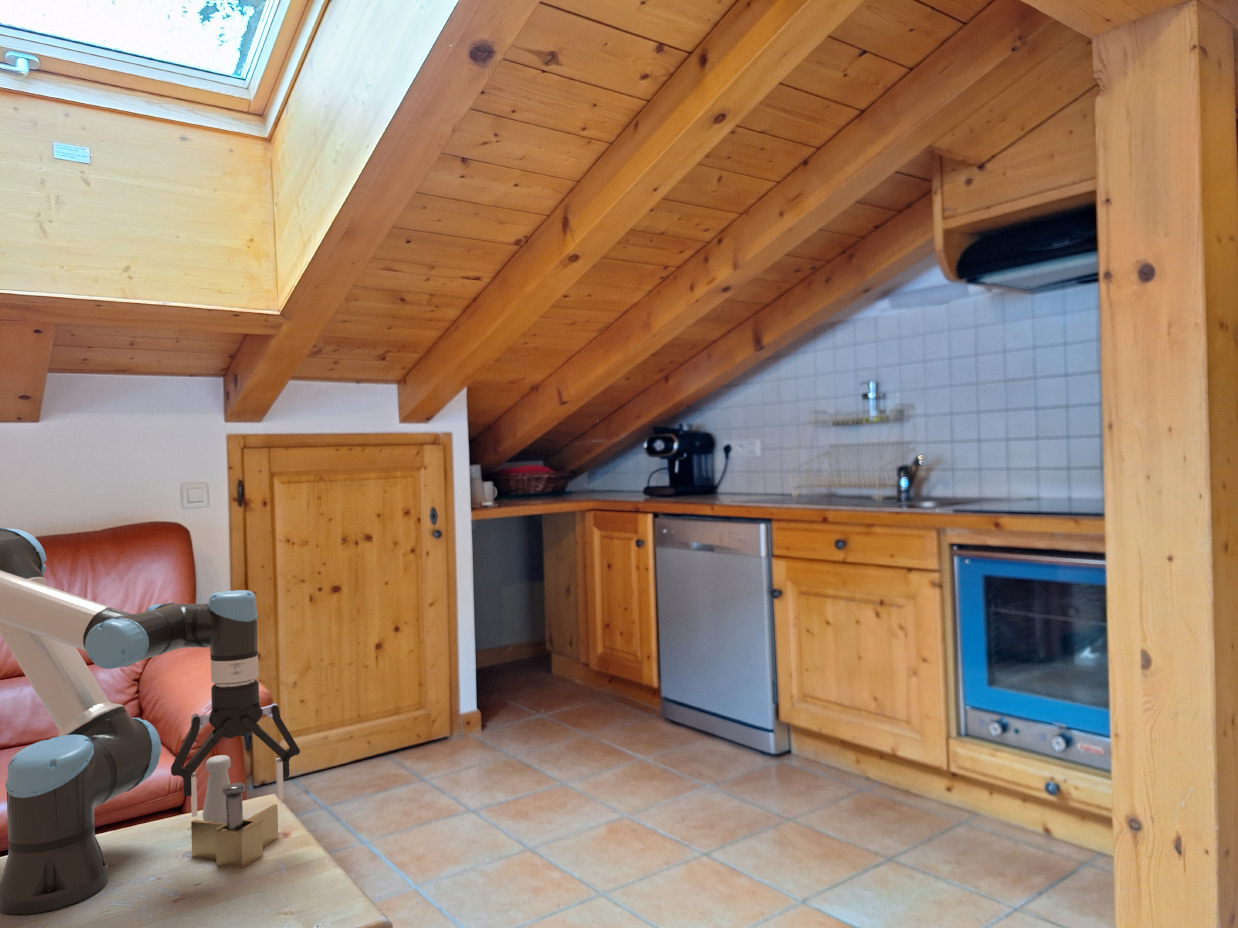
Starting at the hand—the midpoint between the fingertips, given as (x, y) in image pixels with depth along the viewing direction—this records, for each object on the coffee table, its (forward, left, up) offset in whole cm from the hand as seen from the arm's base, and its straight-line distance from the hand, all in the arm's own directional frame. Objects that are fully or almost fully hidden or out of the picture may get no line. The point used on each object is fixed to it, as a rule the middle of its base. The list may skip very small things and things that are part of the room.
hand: (238, 805), depth 152 cm
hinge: (-3, +3, -9) cm, 10 cm away
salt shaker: (-14, +12, -10) cm, 21 cm away
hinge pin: (0, 0, -9) cm, 9 cm away
